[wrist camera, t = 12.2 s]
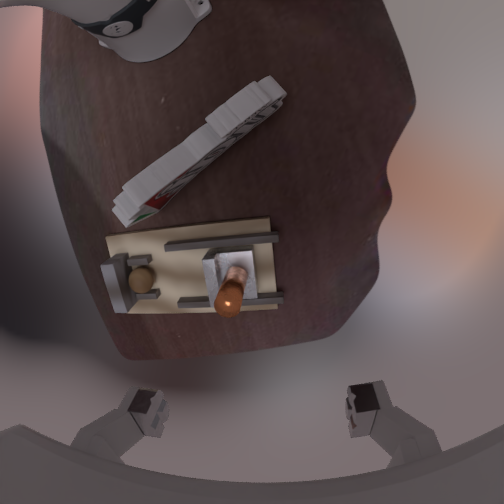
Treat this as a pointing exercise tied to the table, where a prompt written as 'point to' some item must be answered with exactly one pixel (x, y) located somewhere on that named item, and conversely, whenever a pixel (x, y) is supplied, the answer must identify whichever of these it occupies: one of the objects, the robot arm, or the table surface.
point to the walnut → (141, 280)
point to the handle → (230, 278)
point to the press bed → (186, 265)
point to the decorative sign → (197, 151)
